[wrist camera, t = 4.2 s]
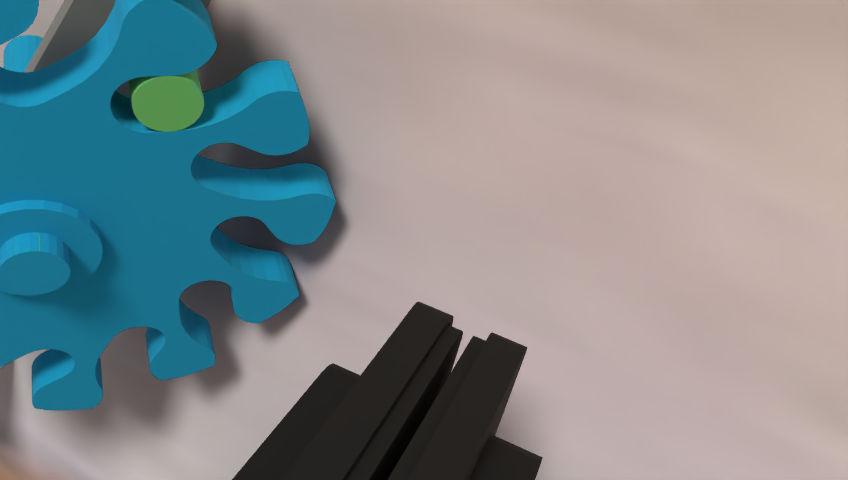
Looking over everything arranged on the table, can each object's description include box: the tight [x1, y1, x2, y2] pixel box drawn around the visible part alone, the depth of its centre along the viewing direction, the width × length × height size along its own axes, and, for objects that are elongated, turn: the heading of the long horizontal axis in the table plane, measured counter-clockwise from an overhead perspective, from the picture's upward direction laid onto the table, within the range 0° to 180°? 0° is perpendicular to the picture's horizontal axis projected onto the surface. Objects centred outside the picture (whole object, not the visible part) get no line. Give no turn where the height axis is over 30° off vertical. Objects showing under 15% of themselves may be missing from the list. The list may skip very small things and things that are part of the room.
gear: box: [0, 0, 336, 410], centre depth 14 cm, size 11×6×10 cm
